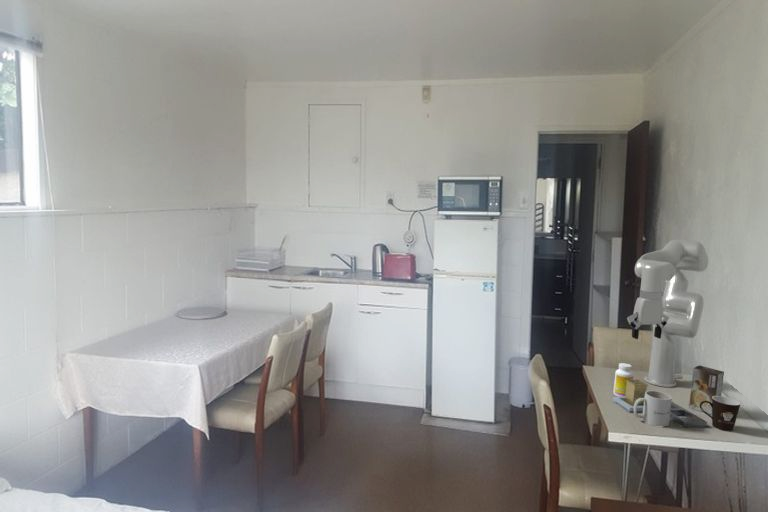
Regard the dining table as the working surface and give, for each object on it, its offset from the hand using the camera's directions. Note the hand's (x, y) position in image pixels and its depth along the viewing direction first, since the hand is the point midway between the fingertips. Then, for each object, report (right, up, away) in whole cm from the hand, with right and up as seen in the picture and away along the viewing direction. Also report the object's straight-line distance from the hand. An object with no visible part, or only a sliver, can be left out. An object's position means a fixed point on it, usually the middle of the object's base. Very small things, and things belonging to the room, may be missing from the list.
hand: (646, 337), depth 214 cm
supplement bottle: (-7, -25, +7) cm, 26 cm away
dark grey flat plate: (+5, -27, -10) cm, 29 cm away
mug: (-7, -28, -18) cm, 33 cm away
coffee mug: (+17, -29, -19) cm, 38 cm away
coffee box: (+21, -27, -4) cm, 34 cm away
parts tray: (-7, -26, -4) cm, 27 cm away
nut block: (-7, -25, -4) cm, 26 cm away
